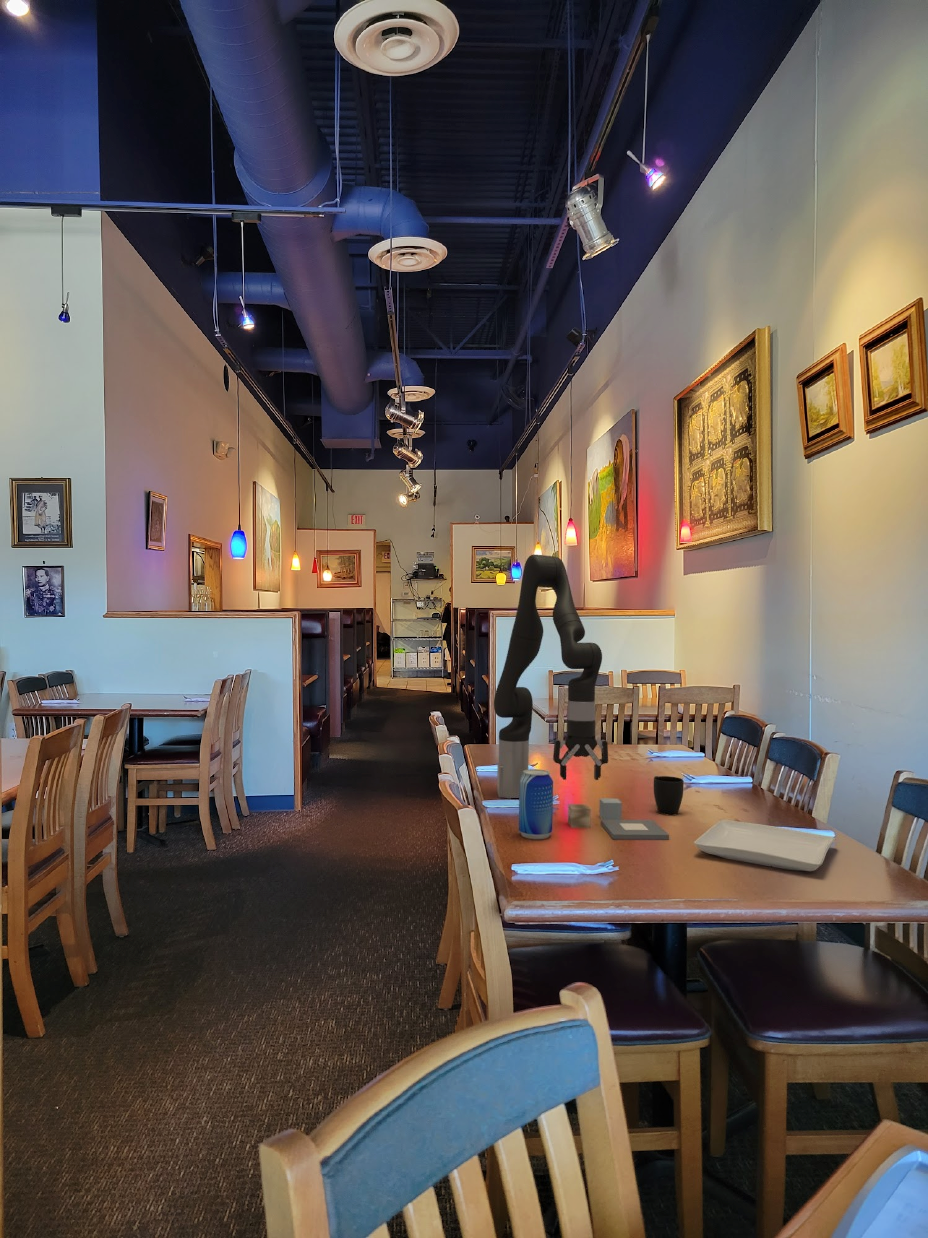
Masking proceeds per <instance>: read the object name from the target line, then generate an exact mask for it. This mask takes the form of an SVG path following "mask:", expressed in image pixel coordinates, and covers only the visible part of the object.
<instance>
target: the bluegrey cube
mask: <svg viewBox="0 0 928 1238" xmlns="http://www.w3.org/2000/svg"><path fill="white" fill-rule="evenodd" d="M598 801H599V805H598V809H599V810H598V811H599V813H598V814H599V815H598V816H599V818H600V820H623V819H622V814H623V803H622V801H620V799H618V798H604V797H603V798H599V800H598Z"/></svg>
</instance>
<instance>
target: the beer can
mask: <svg viewBox="0 0 928 1238" xmlns="http://www.w3.org/2000/svg"><path fill="white" fill-rule="evenodd" d="M523 773H524V774H523V775H522V777H521V778H520V782H519V799H518V831H519V833H520V835H521V836H522V837H523V838H526V839H528V840H545V839H548V838H550V835H551V834H552V832H553V819H554V817H553V815H554V814H553V813H554V812H553V811H554V810H553V809H554V781H553V778H552V777H551V775H550V771H549V770H545V769H541V768H539V769H537V768H533V769H532V768H531V769H530V768H528V770H524V771H523Z"/></svg>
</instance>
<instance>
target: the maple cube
mask: <svg viewBox="0 0 928 1238" xmlns="http://www.w3.org/2000/svg"><path fill="white" fill-rule="evenodd" d="M567 807H568V809H567V823H568V825H569V826H570V828H572V829H573V828H574V829H575V828H576V829H590V828H591V818H592V817H591V815H592V813H591V812H592V810H591V807H589V805H588V804H584V803H583V804H582V803H581V804H580V803H578V804H577V803H575V804H574V803H573V804H572V803H571V804H567Z"/></svg>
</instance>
